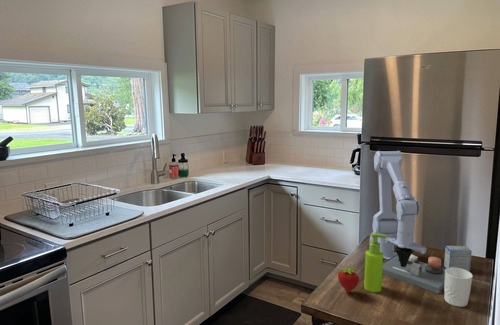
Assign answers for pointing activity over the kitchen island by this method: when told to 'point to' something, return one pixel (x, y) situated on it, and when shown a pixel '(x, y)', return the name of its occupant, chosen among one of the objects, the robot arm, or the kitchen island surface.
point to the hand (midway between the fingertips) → (403, 266)
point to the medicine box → (457, 257)
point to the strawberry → (348, 279)
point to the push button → (434, 262)
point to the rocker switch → (413, 258)
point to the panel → (427, 280)
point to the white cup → (457, 286)
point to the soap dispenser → (374, 265)
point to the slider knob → (416, 269)
